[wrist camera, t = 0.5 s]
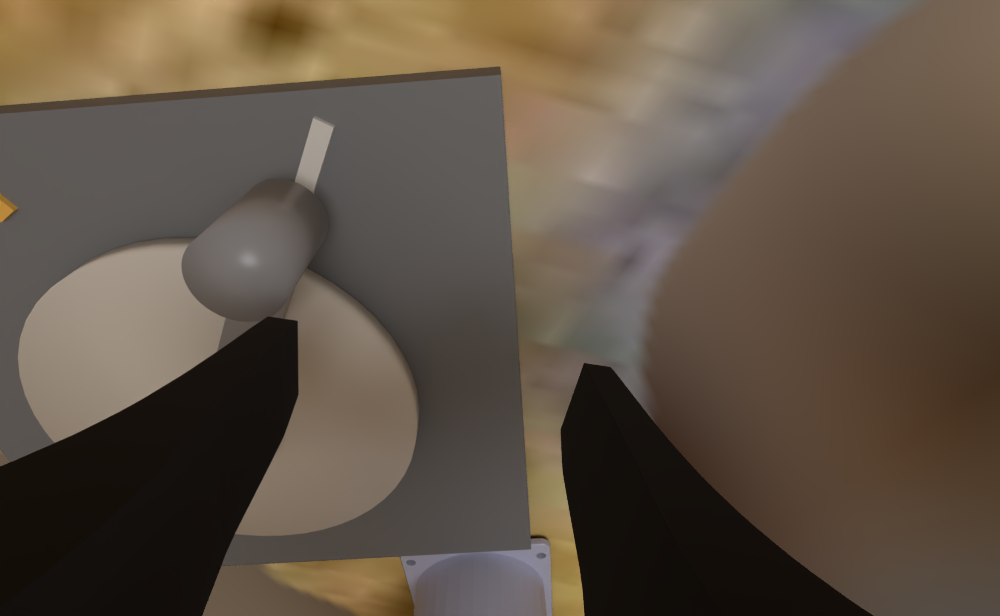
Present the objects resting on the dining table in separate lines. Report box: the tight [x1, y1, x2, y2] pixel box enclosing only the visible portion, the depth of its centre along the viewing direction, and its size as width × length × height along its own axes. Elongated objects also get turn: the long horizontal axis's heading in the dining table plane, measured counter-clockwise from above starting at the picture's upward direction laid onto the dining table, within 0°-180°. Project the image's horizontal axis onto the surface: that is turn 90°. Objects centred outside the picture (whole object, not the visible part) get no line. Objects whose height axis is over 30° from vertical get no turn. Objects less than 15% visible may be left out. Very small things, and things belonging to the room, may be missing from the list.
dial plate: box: [0, 67, 531, 566], centre depth 21 cm, size 22×22×2 cm
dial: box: [18, 179, 419, 536], centre depth 18 cm, size 17×14×5 cm
